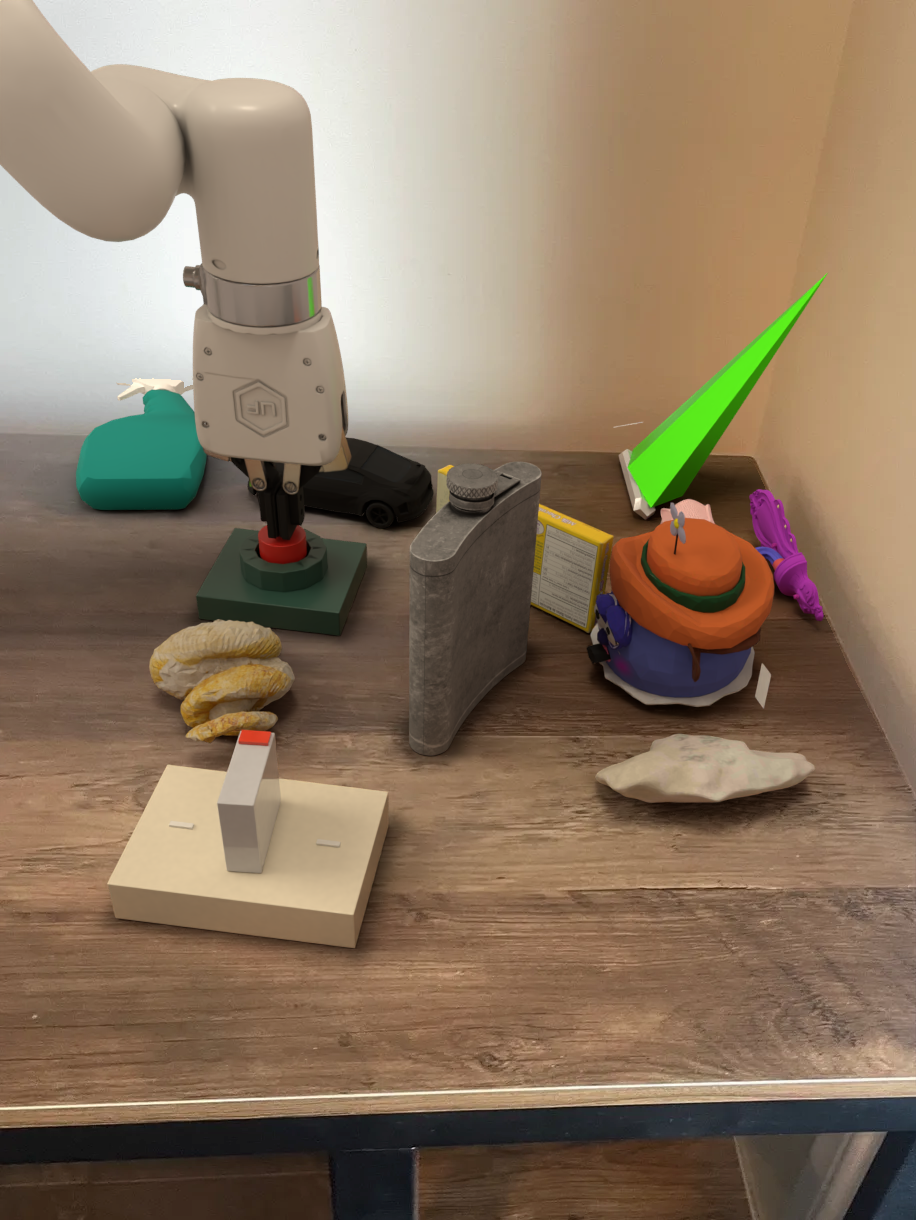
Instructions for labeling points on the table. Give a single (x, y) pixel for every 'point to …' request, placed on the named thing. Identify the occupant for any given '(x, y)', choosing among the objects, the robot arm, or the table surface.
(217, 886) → the block
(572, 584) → the candy box
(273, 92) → the robot arm
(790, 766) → the stone tool
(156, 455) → the spray bottle
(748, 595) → the toy
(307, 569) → the button box
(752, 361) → the paper cone
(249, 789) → the tap handle
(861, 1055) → the table surface
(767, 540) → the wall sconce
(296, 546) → the button
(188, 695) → the cream yellow lumpy piece
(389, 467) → the toy car
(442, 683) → the flask
